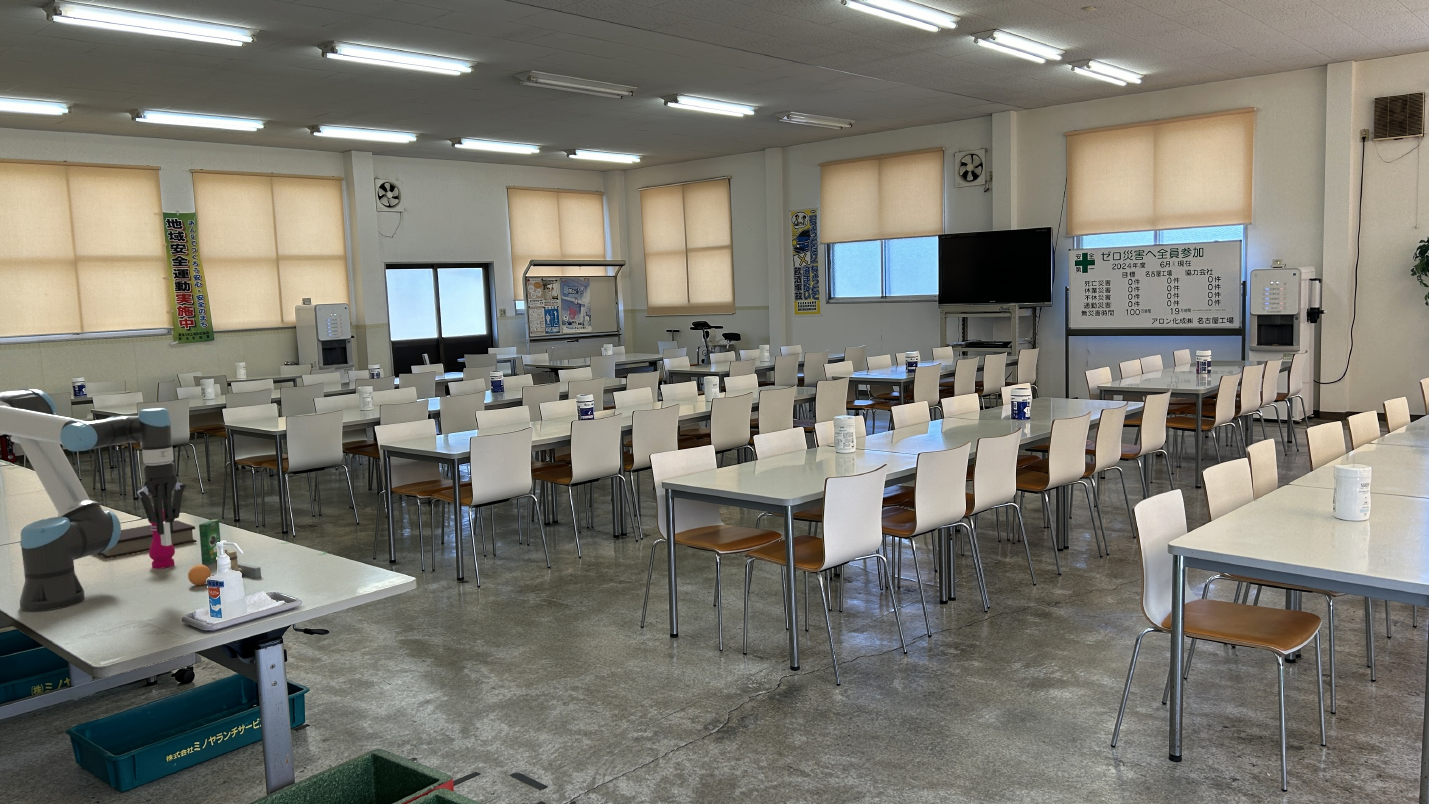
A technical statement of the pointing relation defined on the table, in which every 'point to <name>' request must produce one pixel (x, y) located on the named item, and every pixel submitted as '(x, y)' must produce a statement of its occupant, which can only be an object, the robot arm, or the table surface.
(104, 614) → the table surface
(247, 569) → the back wall
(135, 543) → the book
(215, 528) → the coffee box
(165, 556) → the pepper mill
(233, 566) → the pin
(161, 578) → the table surface
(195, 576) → the ball
